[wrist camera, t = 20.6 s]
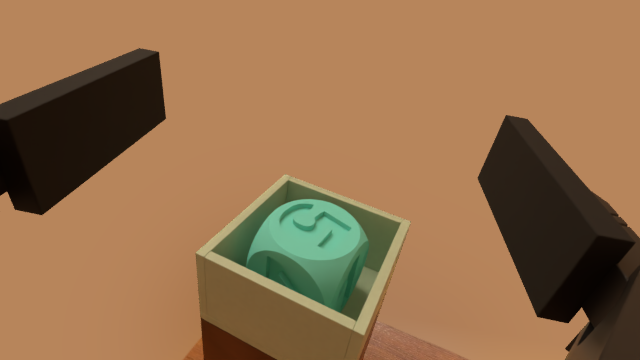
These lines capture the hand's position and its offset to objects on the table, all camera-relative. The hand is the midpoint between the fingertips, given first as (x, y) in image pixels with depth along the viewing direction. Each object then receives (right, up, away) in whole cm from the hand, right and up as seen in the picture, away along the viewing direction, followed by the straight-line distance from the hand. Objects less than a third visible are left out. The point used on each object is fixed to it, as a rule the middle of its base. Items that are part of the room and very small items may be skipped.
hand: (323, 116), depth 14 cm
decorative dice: (-2, -13, +20) cm, 24 cm away
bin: (-2, -14, +21) cm, 25 cm away
